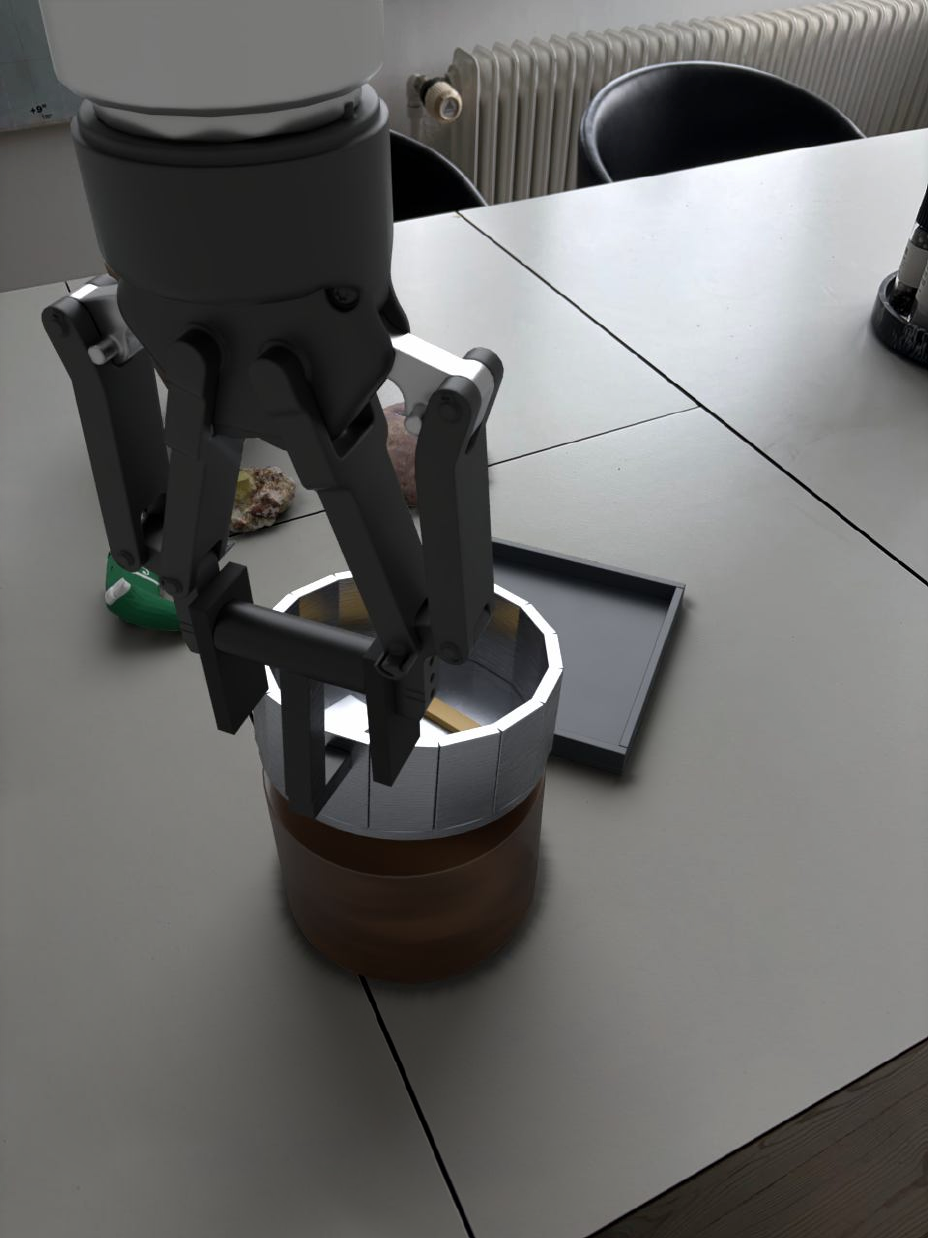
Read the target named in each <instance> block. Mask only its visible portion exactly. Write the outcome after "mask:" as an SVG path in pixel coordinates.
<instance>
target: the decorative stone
mask: <svg viewBox="0 0 928 1238" xmlns="http://www.w3.org/2000/svg"><path fill="white" fill-rule="evenodd" d="M382 409H383V412H384V415H385V417H386V420H387V424H388V438H387V450H388V453H389V456H390V459H391V461H392V464H393V467H394V470H395V472H396V475H397V478H398V481H399V483H400V486H401V489H402V492H403V494H404V497H405V500H406V502H407V505H408V507H418V501H417V492H416V482H415V467H414V461H415V449H416V444H417V440H418V436H415V435H412V434H410V433H409V432H408V431H407V430H406V429H405V426H404V421H405V418H406V414H405V405H404V401H402V402H397V403H394V404H391V405H389V406H386V407H384V408H382Z"/></svg>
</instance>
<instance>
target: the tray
mask: <svg viewBox="0 0 928 1238" xmlns="http://www.w3.org/2000/svg"><path fill="white" fill-rule="evenodd" d="M492 555H493V575H494V584H496V585H498V586H500V587H502V588H504V589H505V590H507V591H509V592H511V593H513V594H515V595H516V596H518V597H520V598H522V599H524V600H526V601H527V602H529V603H530V604H532V605H533V606H534V608H535V609H536V610H537V611H538V612H539V613H540V615H541V616H542V617H543V618H544V619H545V620H546V621H547V623H548V624H549V625H550V626H551V627H552V628H553V629H554V631H555V632H556V633H557V635H558V639H559V645H560V650H561V656H562V662H563V668H564V670H563V677H562V683H561V690H560V697H559V703H558V710H557V717H556V724H555V730H554V737H553V744H552V750H551V752H550V754H549V755H553V756H557V757H560V758H564V759H567V760H570V761H573V762H576V763H580V764H583V765H585V766H590V767H594V768H597V769H599V770H604V771H607V772H610V773H614V774H615V775H620V776H623V774H624V770H625V767H626V765H627V763H628V759H629V757H630V753H631V752H632V748H633V745H634V742H635V739H636V736H637V734H638V731H639V728H640V725H641V723H642V719H643V716H644V713H645V710H646V708H647V705H648V702H649V699H650V697H651V695H652V691H653V688H654V685H655V682H656V679H657V676H658V673H659V671H660V668H661V665H662V663H663V659H664V657H665V653H666V650H667V647H668V645H669V643H670V640H671V636H672V634H673V631H674V628H675V625H676V622H677V619H678V616H679V615H680V611H681V608H682V606H683V601H684V597H685V590H686V586H687V585H686V583H683V582H680V581H675V580H671V579H667V578H663V577H659V576H655V575H651V574H646V573H643V572H638V571H635V570H630V569H627V568H622V567H619V566H614V565H610V564H606V563H602V562H598V561H595V560H594V561H593V560H590V559H586V558H581V557H579V556H578V557H577V556H573V555H569V554H565V553H561V552H556V551H553V550H549V549H544V548H540V547H537V546H532V545H528V544H524V543H520V542H517V541H511V540H507V539H503V538H500V537H495V536H492Z"/></svg>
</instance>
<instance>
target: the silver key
mask: <svg viewBox="0 0 928 1238" xmlns="http://www.w3.org/2000/svg"><path fill="white" fill-rule="evenodd" d="M325 720H328V721H331V722H334V723H337V724H340V725H344V726H347V727H350V728H353V729H357V730H360V731H363V732H366V733H369V728H368V717H367V706H366V704H364V703H363V702H361V701H360V700H358V699H357V698H355V697H354V696H352V695H348V696H346V697H345V698H343V699H341V700H340V701H338V702H336V703H335V704H333V705H331V706H330V707H328V708H326V709H325Z"/></svg>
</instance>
